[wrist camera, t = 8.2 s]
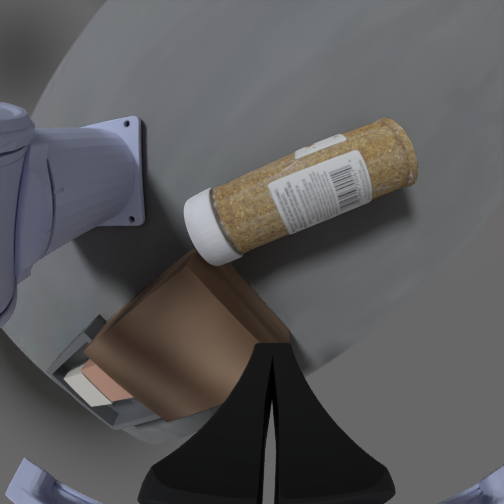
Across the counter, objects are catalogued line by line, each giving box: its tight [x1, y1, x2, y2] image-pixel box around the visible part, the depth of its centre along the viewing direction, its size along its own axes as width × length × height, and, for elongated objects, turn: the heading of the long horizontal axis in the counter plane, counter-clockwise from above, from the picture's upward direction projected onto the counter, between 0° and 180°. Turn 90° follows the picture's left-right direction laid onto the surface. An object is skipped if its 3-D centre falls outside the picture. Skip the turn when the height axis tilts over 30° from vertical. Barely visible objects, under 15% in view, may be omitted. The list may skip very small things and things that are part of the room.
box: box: [46, 315, 161, 430], centre depth 25 cm, size 14×12×3 cm
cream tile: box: [64, 361, 114, 407], centre depth 25 cm, size 5×5×2 cm
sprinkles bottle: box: [184, 118, 418, 266], centre depth 15 cm, size 5×5×13 cm
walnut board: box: [83, 247, 290, 422], centre depth 20 cm, size 14×10×5 cm
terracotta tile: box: [81, 358, 133, 401], centre depth 23 cm, size 5×5×2 cm
